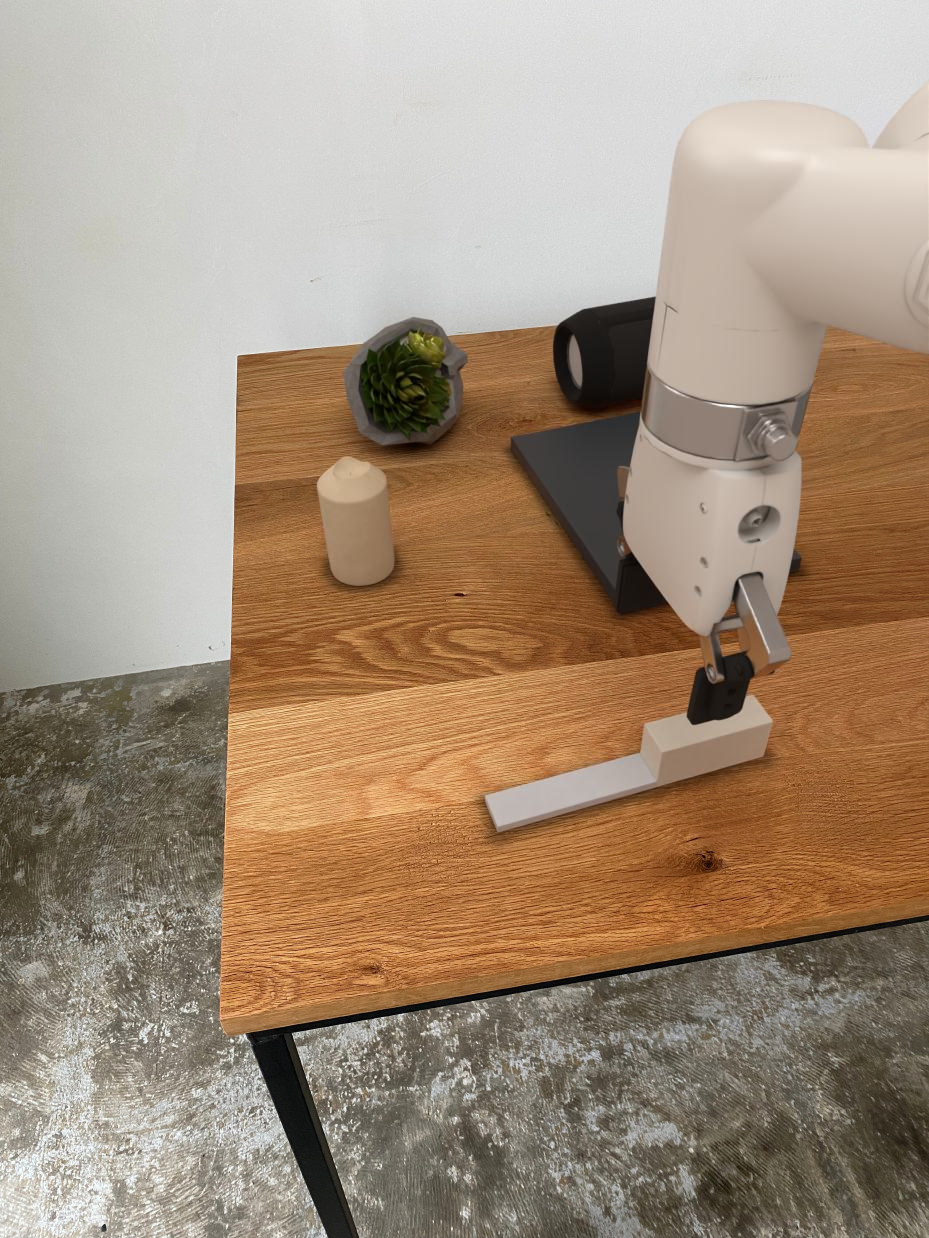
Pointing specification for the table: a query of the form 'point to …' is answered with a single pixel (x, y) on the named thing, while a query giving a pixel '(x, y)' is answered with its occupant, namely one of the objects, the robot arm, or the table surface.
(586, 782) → the white stepped bar
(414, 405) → the potted plant
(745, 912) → the table surface
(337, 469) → the candle
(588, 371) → the portable speaker
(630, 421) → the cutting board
